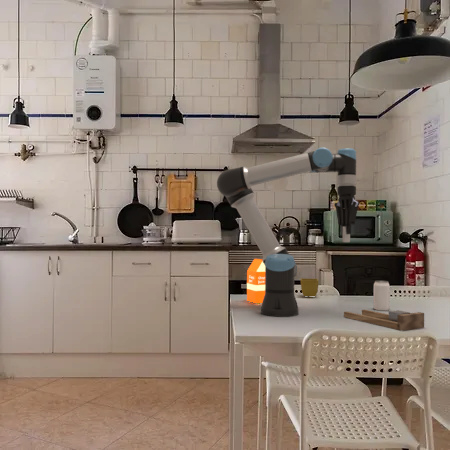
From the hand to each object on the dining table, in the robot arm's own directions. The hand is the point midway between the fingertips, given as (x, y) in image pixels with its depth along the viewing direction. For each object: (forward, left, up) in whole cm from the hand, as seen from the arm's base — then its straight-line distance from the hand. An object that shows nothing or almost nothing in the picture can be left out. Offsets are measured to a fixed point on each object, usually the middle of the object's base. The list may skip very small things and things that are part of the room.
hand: (346, 242), depth 189 cm
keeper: (-6, -32, -29) cm, 43 cm away
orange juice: (-21, +35, -29) cm, 50 cm away
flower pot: (+11, +37, -29) cm, 48 cm away
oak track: (-6, -23, -29) cm, 37 cm away
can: (+15, -5, -29) cm, 33 cm away
